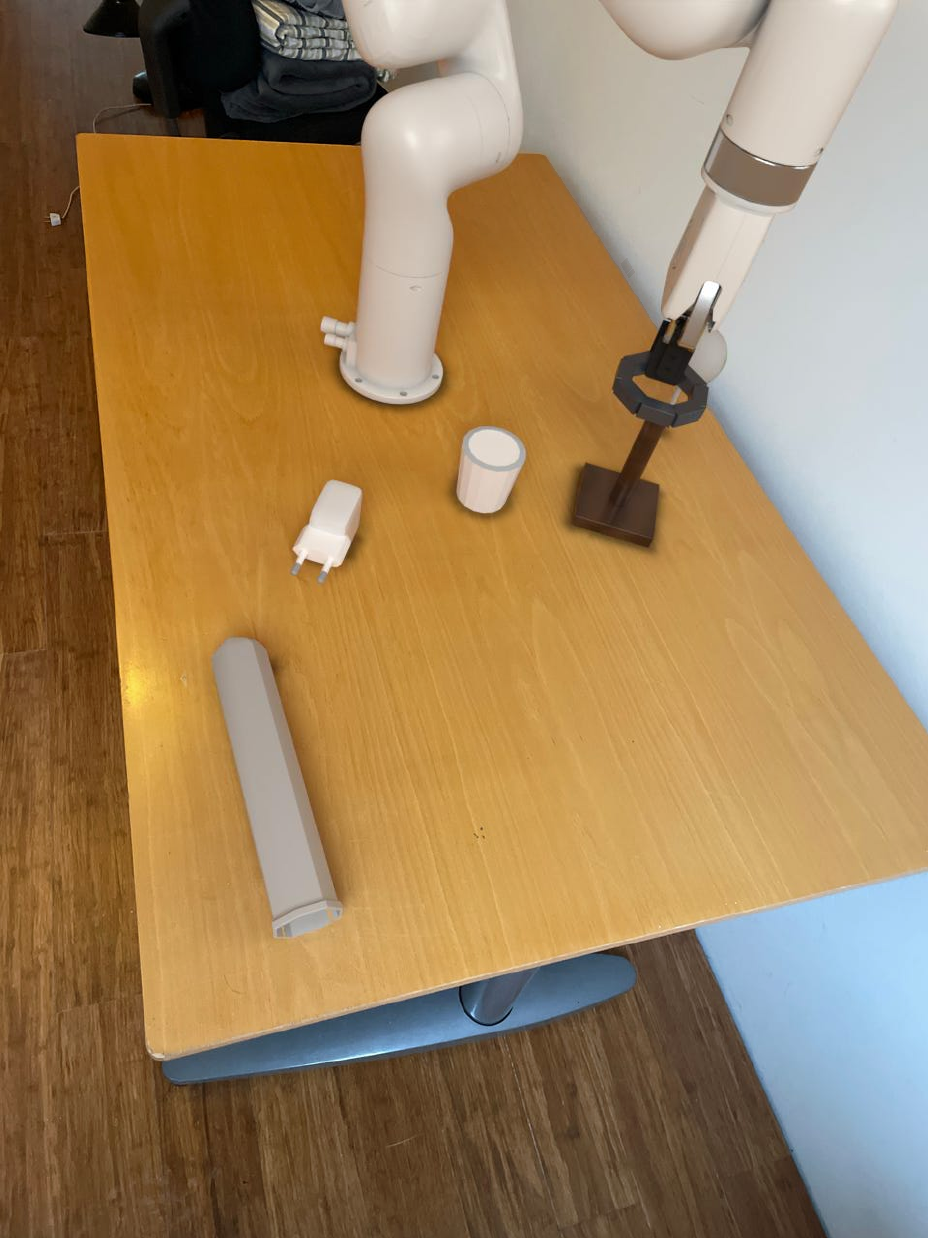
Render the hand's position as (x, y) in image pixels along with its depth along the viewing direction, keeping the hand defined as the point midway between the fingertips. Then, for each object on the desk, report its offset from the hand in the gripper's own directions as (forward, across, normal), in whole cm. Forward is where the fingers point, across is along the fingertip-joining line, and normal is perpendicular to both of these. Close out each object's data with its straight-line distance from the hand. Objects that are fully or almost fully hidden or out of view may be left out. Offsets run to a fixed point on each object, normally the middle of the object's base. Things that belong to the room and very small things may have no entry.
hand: (662, 370), depth 74 cm
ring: (0, +3, 0) cm, 3 cm away
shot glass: (+21, +1, -13) cm, 25 cm away
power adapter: (+21, +16, -25) cm, 37 cm away
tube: (+21, +40, -21) cm, 50 cm away
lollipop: (+21, -20, +6) cm, 29 cm away
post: (+21, -4, +2) cm, 21 cm away
